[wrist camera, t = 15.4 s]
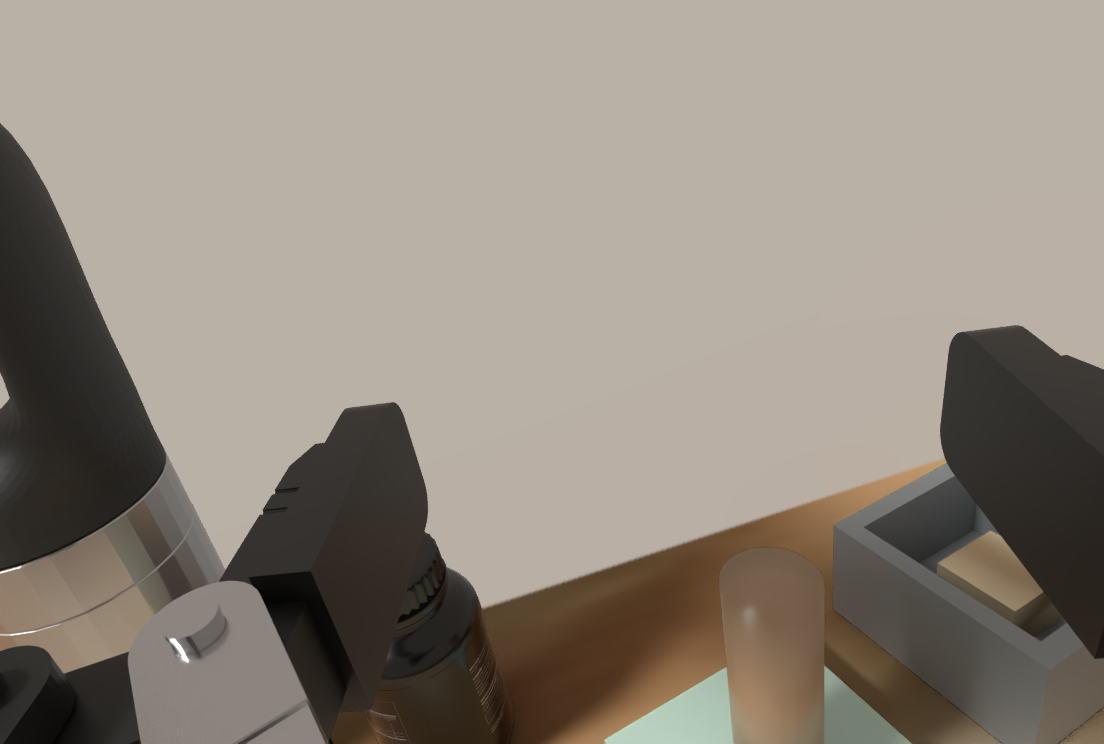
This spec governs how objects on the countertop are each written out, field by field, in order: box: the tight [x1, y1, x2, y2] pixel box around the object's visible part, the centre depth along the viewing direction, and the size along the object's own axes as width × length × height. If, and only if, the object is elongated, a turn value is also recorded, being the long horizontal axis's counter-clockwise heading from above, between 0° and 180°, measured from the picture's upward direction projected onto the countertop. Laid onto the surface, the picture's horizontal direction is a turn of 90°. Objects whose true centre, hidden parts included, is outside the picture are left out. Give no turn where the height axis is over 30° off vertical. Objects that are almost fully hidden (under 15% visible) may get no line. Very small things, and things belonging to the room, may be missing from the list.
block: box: [937, 531, 1061, 637], centre depth 36 cm, size 4×4×3 cm
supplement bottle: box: [363, 531, 513, 744], centre depth 34 cm, size 7×7×12 cm
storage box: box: [833, 463, 1104, 744], centre depth 35 cm, size 11×11×6 cm
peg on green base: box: [604, 547, 912, 744], centre depth 28 cm, size 11×11×13 cm
